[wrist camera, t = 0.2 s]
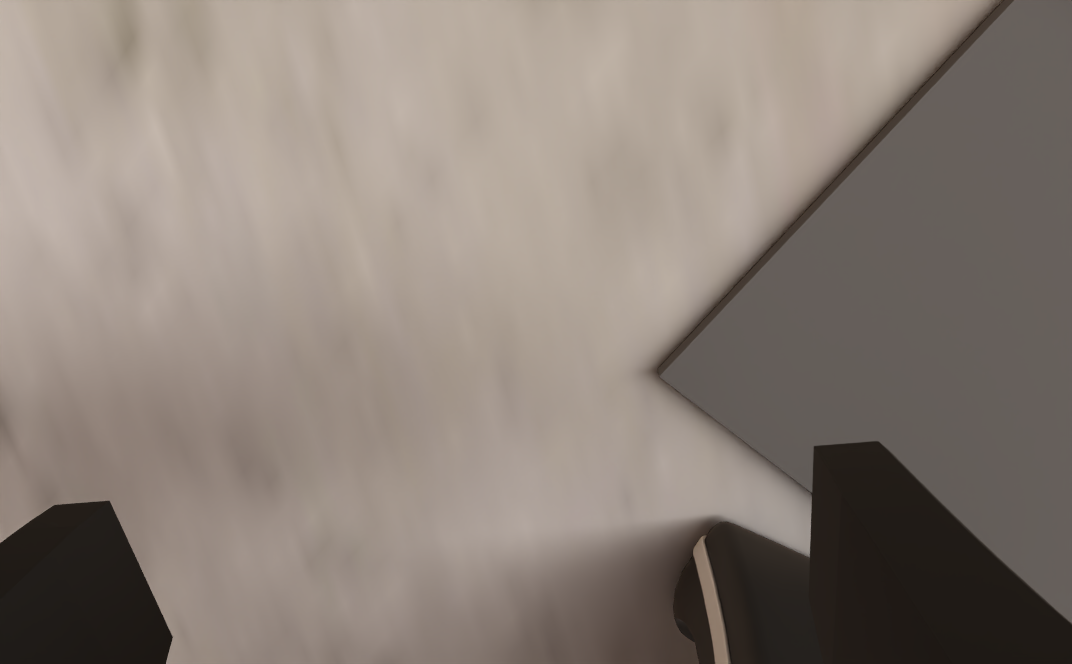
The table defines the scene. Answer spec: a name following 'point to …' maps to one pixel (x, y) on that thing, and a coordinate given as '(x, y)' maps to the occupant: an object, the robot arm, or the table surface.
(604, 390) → the table surface
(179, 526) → the table surface
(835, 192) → the mat
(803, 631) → the battery charger
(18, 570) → the robot arm
